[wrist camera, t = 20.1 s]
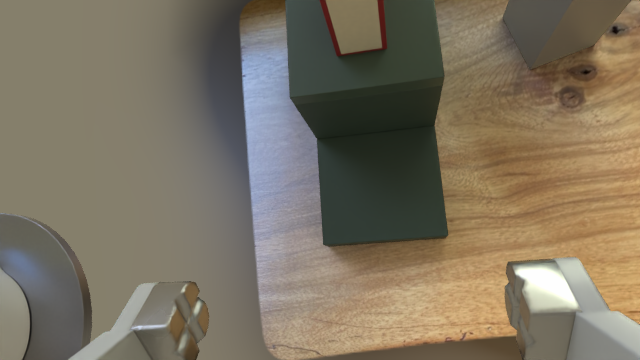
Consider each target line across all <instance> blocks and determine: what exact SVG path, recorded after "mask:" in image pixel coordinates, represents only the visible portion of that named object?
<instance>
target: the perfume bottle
mask: <svg viewBox="0 0 640 360" xmlns="http://www.w3.org/2000/svg"><path fill="white" fill-rule="evenodd" d="M630 1H631V0H509V2H508V5H507V7H506V10H505V13H504V15H503V19H504V21H505V23H506V25H507V27H508V29H509V31H510V33H511V35H512V37H513V39H514V40H515V42H516V44H517V46H518V48H519V50H520V52H521V54H522V56H523V58H524V60H525V62H526V64H527V65H528V67H529V69H530V70H531V69H533V68H536V67H539V66H541V65H544V64H546V63H549V62H552V61H554V60H557V59H559V58H562V57H565V56H567V55H570V54H572V53H575V52H578V51H580V50H583V49H585V48H588V47H591V46H593V45H595V43H596V42H597V41H598V40H599V39H600V37H601V36H602V35H603V34H604V33H605V31H606V30H607V29H608V28H609V27H610V25H611V24H612V23H613V22H614V21H615V19H616V18H617V17H618V16H619V15H620V13H621V12H622V11H623V10H624V9H625V7H626V6H627V5H628V4H629V3H630Z"/></svg>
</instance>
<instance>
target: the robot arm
mask: <svg viewBox="0 0 640 360" xmlns="http://www.w3.org/2000/svg"><path fill="white" fill-rule="evenodd" d="M506 275H507V278H508V281H509V283H508V284H507V285H506V286H505V305H506V311H507V315H508V318H509V321H510V324H511V326H512V327H514V328H515V329H516V330H517V338H516V342H517V345H518V348H519V350H520V354H521V356H522V359H523V360H640V324H638V323H636V322H635V321H633V320H632V319H630V318H628V317H627V316H625V315H624V314H622V313H620V312H619V311H610V309H609V307H608V306H607V304H606V302H605V301H604V299H603V298H602V296H601V294H600V293H599V291H598V289H597V288H596V286H595V284H594V283H593V281H592V279H591V278H590V276H589V274H588V273H587V271H586V269H585V268H584V266H583V264H582V263H581V261H580V260H579V259H578V258H576V257H567V258H553V259H539V260H525V261H511V262H508V263H507V266H506ZM198 294H199V288H198V286H197V285H196V283H195V282H191V281H189V282H159V283H143V284H141V285H139V286H138V287H137V288H136V290H135V292H134V293H133V295H132V297H131V298H130V300H129V302H128V303H127V305H126V306H125V308H124V310H123V311H122V313H121V314H120V316H119V318H118V319H117V321H116V323H115V324H114V326H113V328H112V329H111V331H109V332H104V333H103V334H101V335H100V336H99V337H97V338H96V339H95V340H93V341H92V342H91V343H89V344H88V345H87V346H85V347H84V348H83V349H81V350H80V351H79V352H77V353H76V354H75V355H73V356H72V357H71V358H70V359H68V360H196V359H197V356H198V353H199V348H198V345H197V343H198V342H199V341H200V340H202V339H203V338H204V337H205V335H206V332H207V329H208V324H209V312H208V308H207V306H206V303H205V302H204V301H203V300H201V299H200V298H198V297H197V296H198ZM29 334H30V314H29V308H28V304H27V301H26V298H25V295H24V293H23V291H22V290H21V288H20V286H19V285H18V284H17V283H16V281H15V280H14V279H13V278H11V277H10V276H9V275H8V274H6V273H5V272H4V271H3V270H2V269H1V268H0V360H22V359H23V357H24V354H25V351H26V348H27V344H28V340H29Z"/></svg>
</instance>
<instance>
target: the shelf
mask: <svg viewBox="0 0 640 360" xmlns="http://www.w3.org/2000/svg"><path fill="white" fill-rule="evenodd" d="M285 3H286V25H287V46H288V68H289V90H290V99H291V100H292V102H293V103H294V105H295V106H296V108H297V109H298V111H299V112H300V114H301V115H302V117H303V118H304V120H305V121H306V123H307V124H308V126H309V127H310V129H311V131H312V132H313V134H314V135H315V137H316V138H317V148H318V164H319V181H320V198H321V214H322V231H323V245H326V246H329V247H331V246H345V245H358V244H372V243H386V242H400V241H414V240H427V239H441V238H446V237H447V236H448V229H447V221H446V213H445V205H444V197H443V189H442V181H441V173H440V165H439V157H438V149H437V141H436V133H435V126H434V125H435V120H436V115H437V110H438V105H439V100H440V96H441V91H442V86H443V81H444V70H443V62H442V55H441V47H440V40H439V32H438V25H437V17H436V10H435V3H434V0H384V11H385V24H386V38H387V49H383V50H376V51H370V52H363V53H357V54H350V55H343V56H337V55H336V52H335V49H334V45H333V42H332V39H331V36H330V33H329V29H328V26H327V23H326V20H325V17H324V14H323V10H322V7H321V4H320V1H319V0H285Z"/></svg>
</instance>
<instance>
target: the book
mask: <svg viewBox="0 0 640 360" xmlns="http://www.w3.org/2000/svg"><path fill="white" fill-rule="evenodd" d="M319 1H320V4H321V7H322V10H323V14H324V17H325V20H326V23H327V26H328V29H329V33H330V36H331V39H332V42H333V45H334V49H335V52H336V55H337V56H343V55H350V54H357V53H363V52H370V51H376V50H383V49H387V38H386V24H385V11H384V0H319Z"/></svg>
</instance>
